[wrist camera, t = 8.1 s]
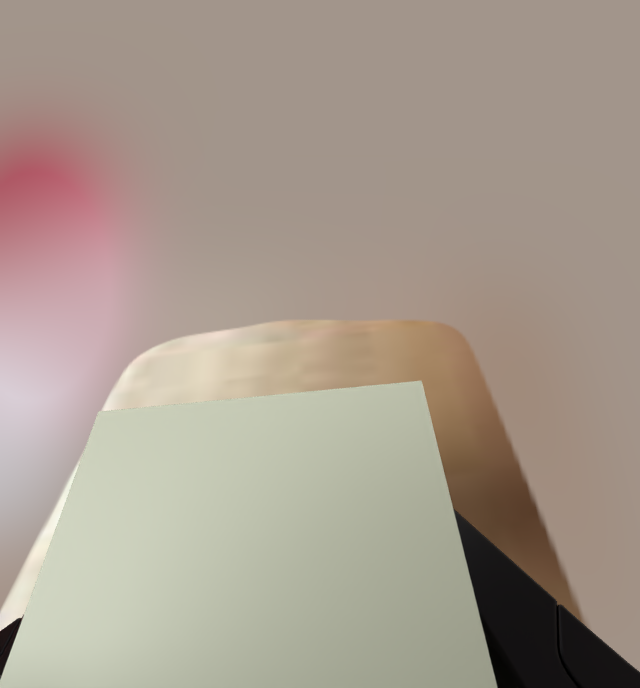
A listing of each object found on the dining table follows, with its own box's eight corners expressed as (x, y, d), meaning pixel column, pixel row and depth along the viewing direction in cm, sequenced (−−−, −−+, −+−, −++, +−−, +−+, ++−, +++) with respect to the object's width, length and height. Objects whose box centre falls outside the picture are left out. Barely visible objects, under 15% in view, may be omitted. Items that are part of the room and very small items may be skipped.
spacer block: (406, 630, 11) (636, 1251, 2) (273, 633, 11) (-160, 1120, 2) (384, 481, 13) (421, 381, 4) (277, 488, 14) (98, 411, 5)
